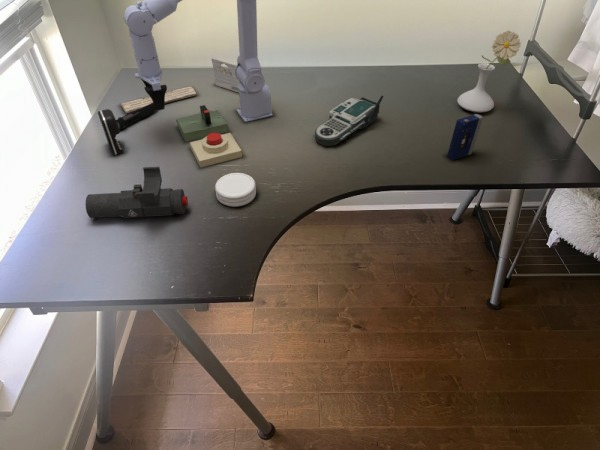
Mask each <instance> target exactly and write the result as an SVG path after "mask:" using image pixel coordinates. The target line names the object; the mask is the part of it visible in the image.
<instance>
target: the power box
mask: <svg viewBox="0 0 600 450" xmlns="http://www.w3.org/2000/svg"><path fill="white" fill-rule="evenodd" d="M220 135H221V138H222V143H221V144H219V145H215V146H211V145H208V143H207V136H206V137H205V138H201V139H197V140H193V141H189V146H190V150H191V151H192V154H193V155H194V157H195V159H196V161H197V163H198V166H199V167H200V168H206V167H209V166H212V165H216V164H220V163H224V162H228V161H232V160H235V159H236V160H237V159H239V158H243V151H242V149H241V147H240V146H239V144H238V142H237V141H236V140H235V138H234V136H233V135H232V134H231V133H230V132H226V133H222V134H220Z"/></svg>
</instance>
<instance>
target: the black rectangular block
mask: <svg viewBox="0 0 600 450" xmlns="http://www.w3.org/2000/svg"><path fill="white" fill-rule="evenodd" d="M199 109H200V110H199V112H200V114H201V117H202V118H203V120H204V122H205V123H206V124H210V123H211V118H210V111H209V110H208V108H207V106H206V105H205V104H203V105H199Z"/></svg>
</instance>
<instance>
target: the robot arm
mask: <svg viewBox="0 0 600 450" xmlns="http://www.w3.org/2000/svg"><path fill="white" fill-rule="evenodd" d="M182 1H183V0H142V1H141V0H138V1H137V2H136V4H132V5H129V6H127V8H126V9H125V11H124V14H123V21H124V23H125V24H126V26H127V27H128V33H129V37H130V44H131V47H132V51H133V54H134V58H135V63H136V66H137V70H138V72H136V73H134V77H135V79H140V80H141V81H142V83H143V85H144V86H143V87H144V90H145V92H146V94H147V95H148V97H151V99H152V101H153V103H154V106H155V108H156V110H155V111H163V110H165V107H166V103H165V93H166V92H167V90H168V86H167V84H161V79H162V76H163V70H162V69H161V65H160V60H159V55H158V50H157V46H156V41H155V38H154V36H153V32H152V31H153V27H154V25H157V24H158V23H160V22H161V21H163V20H164V19H165V18H167V17H168V16H170V15H172V14H173V13H175V12H176V11H177V8H178V4H179V3H181V2H182ZM257 10H258V9H257V0H236V11H237V13H236V14H237V33H238V51H239V55H238V56H237V58H236V68H235V76H236V77H237V79H238V80H239V86H238V88H239V93H238V96H239V108H237V109H236V112H237V113H238V115H239V116H240V117H241V119H242V121H243V122H245V123H246V122H247V123H248V122H251V121H257V120H260V119H265V118H268V117H272V116H273V115H274V114H273V111H272V94H271V90H270V87H269V86H268V84H266V83H265V81H266V80H265V77H264V75H263V72H262V66H261V63H260V60H259V58H258V16H257V15H258V14H257Z"/></svg>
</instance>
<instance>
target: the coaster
mask: <svg viewBox="0 0 600 450" xmlns="http://www.w3.org/2000/svg"><path fill="white" fill-rule="evenodd" d="M256 188H257V187H256V181H255V179H254V178H253V177H252V176H251V175H248V174H246V173H242V172H230V173H228V174H227V173H226V174H225V175H223V176H221V177H220V178H219V179H217V181H216V182H215V185H214V190H215V196H216V199H217V201H218V202H219V203H220V204H222V205H224V206H227V207H232V208H233V207H236V208H237V207H242V206H245V205H247V204H250V203H251V202H252V201H253V200H254V199H255V198H256V194H257V189H256Z"/></svg>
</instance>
